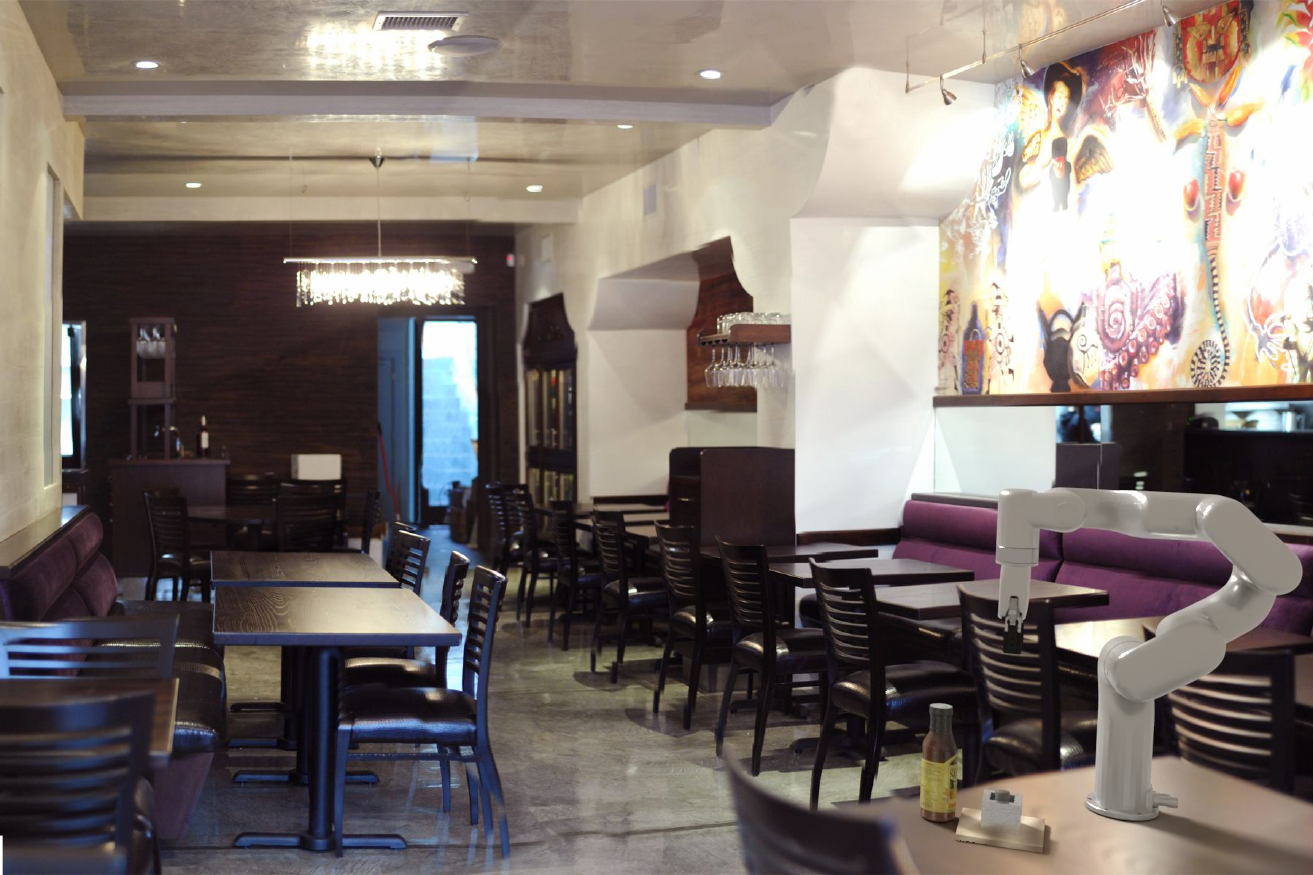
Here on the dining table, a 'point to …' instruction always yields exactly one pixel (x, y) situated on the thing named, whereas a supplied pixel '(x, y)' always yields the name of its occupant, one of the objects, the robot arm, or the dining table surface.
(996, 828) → the collar
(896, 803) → the dining table surface
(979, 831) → the post block
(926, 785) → the sauce bottle
